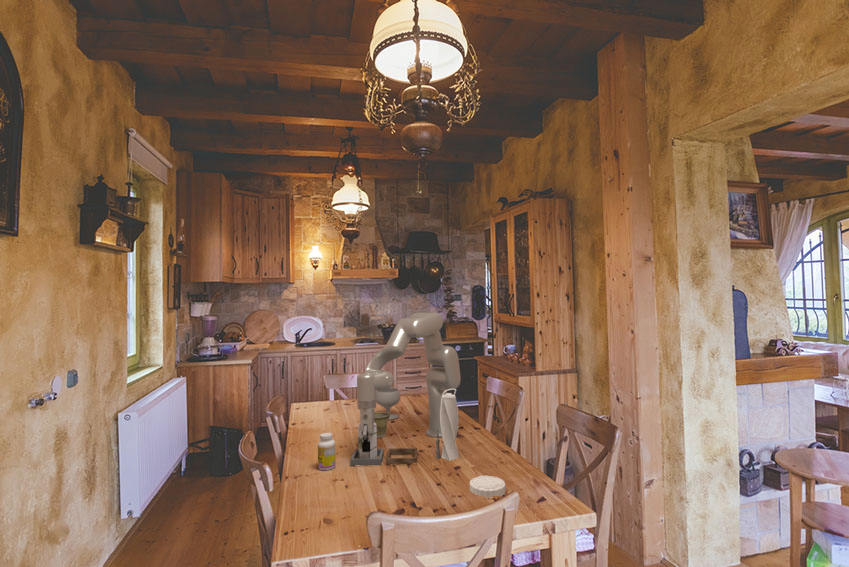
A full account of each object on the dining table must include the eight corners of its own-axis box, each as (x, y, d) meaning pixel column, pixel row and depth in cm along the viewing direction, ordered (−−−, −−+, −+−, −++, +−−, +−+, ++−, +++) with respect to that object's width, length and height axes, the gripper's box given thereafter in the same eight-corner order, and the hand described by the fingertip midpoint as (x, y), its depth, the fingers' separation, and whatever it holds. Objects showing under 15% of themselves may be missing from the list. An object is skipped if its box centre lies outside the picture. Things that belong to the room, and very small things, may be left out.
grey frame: (383, 454, 184) (383, 448, 184) (381, 465, 172) (381, 459, 172) (355, 455, 184) (355, 449, 184) (350, 466, 172) (350, 459, 172)
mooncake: (481, 503, 139) (481, 491, 139) (463, 488, 150) (462, 478, 150) (513, 495, 144) (512, 484, 144) (493, 482, 155) (492, 471, 155)
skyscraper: (449, 454, 183) (447, 387, 184) (464, 459, 177) (462, 389, 178) (434, 460, 177) (433, 390, 178) (449, 465, 171) (448, 393, 172)
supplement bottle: (316, 466, 172) (316, 433, 173) (333, 463, 175) (333, 430, 175) (319, 472, 166) (319, 438, 167) (337, 469, 169) (336, 435, 169)
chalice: (399, 420, 235) (399, 392, 235) (373, 421, 235) (373, 392, 235) (401, 413, 249) (401, 387, 249) (376, 414, 249) (376, 387, 249)
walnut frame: (417, 453, 184) (417, 447, 184) (416, 464, 172) (416, 458, 172) (388, 454, 184) (388, 448, 184) (386, 465, 172) (386, 458, 172)
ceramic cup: (379, 440, 202) (378, 418, 203) (363, 436, 209) (363, 415, 209) (397, 433, 213) (397, 412, 213) (382, 429, 219) (381, 409, 219)
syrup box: (377, 458, 179) (377, 422, 180) (370, 463, 174) (369, 426, 174) (365, 456, 182) (365, 421, 182) (357, 461, 176) (357, 425, 177)
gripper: (373, 409, 170) (374, 455, 169) (378, 399, 187) (379, 440, 187) (354, 409, 170) (355, 456, 169) (360, 399, 187) (361, 441, 187)
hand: (367, 447), depth 178 cm, fingers closed on syrup box, 7 cm apart
